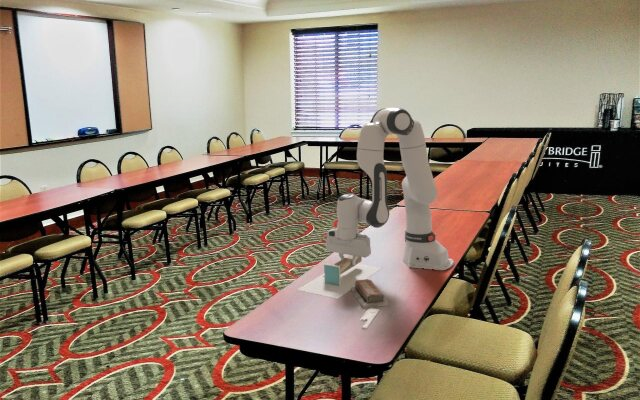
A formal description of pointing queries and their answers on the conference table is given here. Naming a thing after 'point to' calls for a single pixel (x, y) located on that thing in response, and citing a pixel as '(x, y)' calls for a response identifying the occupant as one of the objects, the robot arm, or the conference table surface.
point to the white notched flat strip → (369, 316)
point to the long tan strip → (347, 263)
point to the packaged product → (368, 294)
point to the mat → (347, 281)
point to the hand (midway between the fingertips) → (348, 263)
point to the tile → (332, 274)
